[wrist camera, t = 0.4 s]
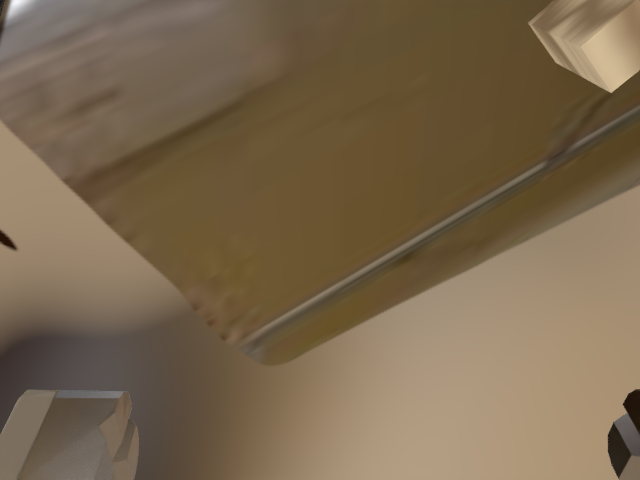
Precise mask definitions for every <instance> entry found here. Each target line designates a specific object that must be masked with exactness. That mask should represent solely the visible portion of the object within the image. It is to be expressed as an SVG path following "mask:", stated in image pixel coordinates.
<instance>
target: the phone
mask: <svg viewBox="0 0 640 480" xmlns="http://www.w3.org/2000/svg"><path fill="white" fill-rule="evenodd" d="M4 1H5V0H0V16H1V12H2V8H3V5H4Z"/></svg>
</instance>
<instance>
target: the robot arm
mask: <svg viewBox="0 0 640 480" xmlns="http://www.w3.org/2000/svg"><path fill="white" fill-rule="evenodd" d="M623 406H624V408H625V410H626V411H627V413H626V414H625V415H623V416H622V417H620V418H619V419H617V420H616V421H615V422H613V425H612V427H611V429H610V431H609V434H608V453H609V457H610V460H611V464H612V466H613V469H614V470H615V473H616V475H617V477H618V479H619V480H640V389H636V390H634V391H632V392H631V393H629V394H628V395H627V398H626V399H625V401H624V403H623ZM131 408H132V404H131V401H130V397H129V393H128V392H120V391H76V390H27V391H26V392H25V393H24V394H23V395H22V396H21V397H20V398H19V399H18V401H17V403H16V405H15V407H14V409H13V411H12V413H11V415H10V417H9V419H8V421H7V423H6V425H5V427H4V429H3V431H2V433H1V435H0V480H134V477H135V472H136V468H137V460H138V451H139V440H138V431H137V426H136V424H135V423H134V422H132V421H131V420H130V419H129V415H130V412H131Z"/></svg>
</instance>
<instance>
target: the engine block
mask: <svg viewBox="0 0 640 480" xmlns="http://www.w3.org/2000/svg"><path fill="white" fill-rule="evenodd" d="M528 24H529V25H530V27H531V28H532V30H533V31H534V32H535V34H536V35H537V37H538V38H539V39H540V41H541V42H542V44H543V45H544V47H545V48H546V49H547V51H548V52H549V54H550V55H551V56H552V58H553V59H554V61H555V62H556V63H557V64H559V65H561V66H563V67H565V68H567V69H568V70H570V71H572V72H574V73H576V74H577V75H579V76H581V77H583V78H585V79H587V80H588V81H590V82H592V83H594V84H596V85H598V86H599V87H601V88H603V89H605V90H607V91H609V92H610V93H612V92H613V91H614V90H615V89H617V88H618V87H619V86H620V85H622V84H623V83H624V82H625V81H627V80H628V79H629V78H630V77H632V76H633V75H634V74H635V73H637V72H638V71H639V70H640V0H553V1H552V2H551V3H550V4H549V5H548V6H547V7H545V8H544V9H543V10H542V11H541V12H540V13H539V14H537V15H536V16H535V17H534V18H533V19H532V20H531V21H530V22H528Z"/></svg>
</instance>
